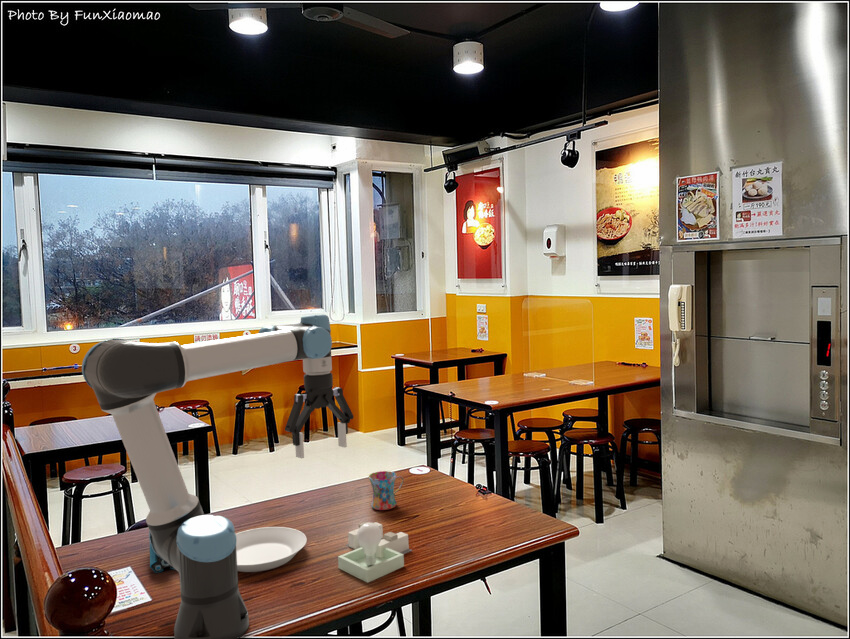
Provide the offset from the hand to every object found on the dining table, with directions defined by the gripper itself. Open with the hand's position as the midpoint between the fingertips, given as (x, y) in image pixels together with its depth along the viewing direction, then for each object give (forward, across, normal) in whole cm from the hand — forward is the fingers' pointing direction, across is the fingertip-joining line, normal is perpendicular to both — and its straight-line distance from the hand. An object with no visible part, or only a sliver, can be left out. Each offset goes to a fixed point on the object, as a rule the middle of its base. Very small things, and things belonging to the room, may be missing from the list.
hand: (321, 451), depth 168 cm
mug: (+29, +36, +17) cm, 49 cm away
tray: (+29, +4, -14) cm, 32 cm away
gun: (+29, -29, +36) cm, 55 cm away
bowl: (+29, -12, +14) cm, 35 cm away
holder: (+29, +13, -6) cm, 32 cm away
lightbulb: (+28, +4, -14) cm, 32 cm away
